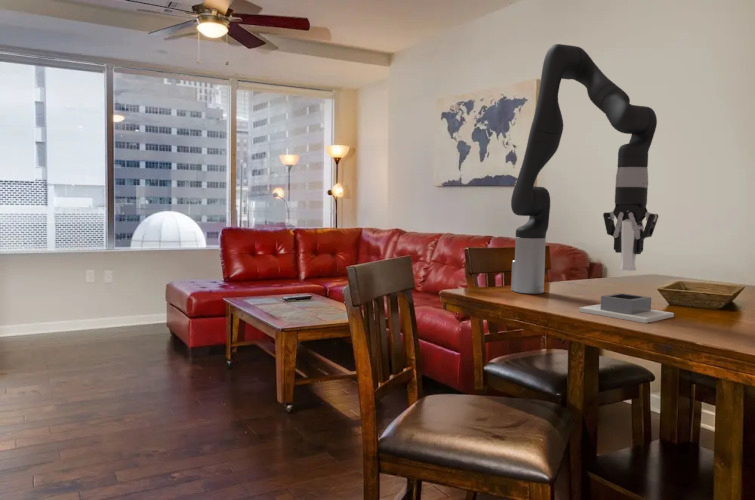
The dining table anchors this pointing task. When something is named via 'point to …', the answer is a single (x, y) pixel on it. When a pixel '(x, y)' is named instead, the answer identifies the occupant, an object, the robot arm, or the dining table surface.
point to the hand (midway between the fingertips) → (628, 252)
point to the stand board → (639, 317)
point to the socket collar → (626, 303)
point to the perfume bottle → (627, 246)
